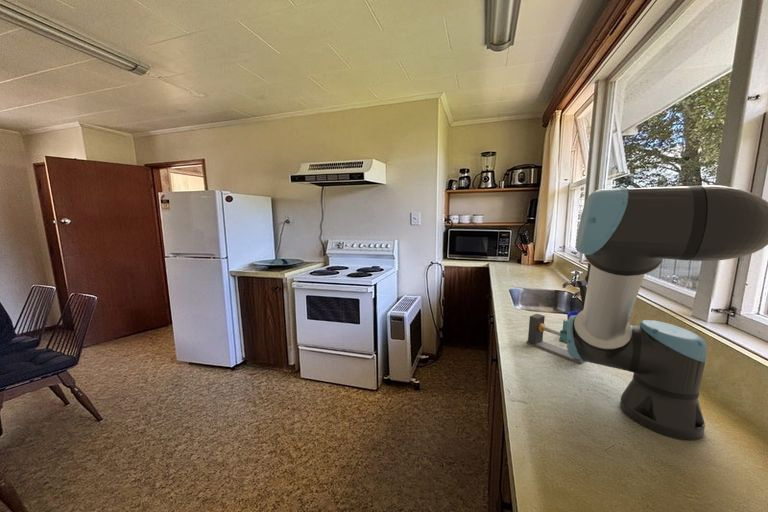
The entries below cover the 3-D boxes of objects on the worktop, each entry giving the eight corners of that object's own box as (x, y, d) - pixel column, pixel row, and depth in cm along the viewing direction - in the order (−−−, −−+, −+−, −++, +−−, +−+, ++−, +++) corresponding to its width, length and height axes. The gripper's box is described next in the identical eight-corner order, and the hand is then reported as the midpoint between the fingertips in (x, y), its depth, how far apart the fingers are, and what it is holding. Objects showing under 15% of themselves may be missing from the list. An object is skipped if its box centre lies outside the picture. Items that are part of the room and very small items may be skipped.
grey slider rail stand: (587, 359, 101) (590, 329, 99) (580, 364, 98) (584, 332, 96) (533, 339, 116) (535, 313, 115) (526, 342, 114) (528, 315, 112)
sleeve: (577, 342, 103) (579, 322, 101) (571, 345, 100) (573, 324, 99) (564, 338, 106) (566, 318, 105) (559, 341, 104) (561, 321, 102)
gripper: (633, 264, 89) (623, 337, 93) (585, 258, 100) (577, 324, 104) (623, 267, 85) (613, 343, 89) (574, 260, 96) (567, 329, 99)
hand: (594, 333), depth 96 cm, fingers closed
